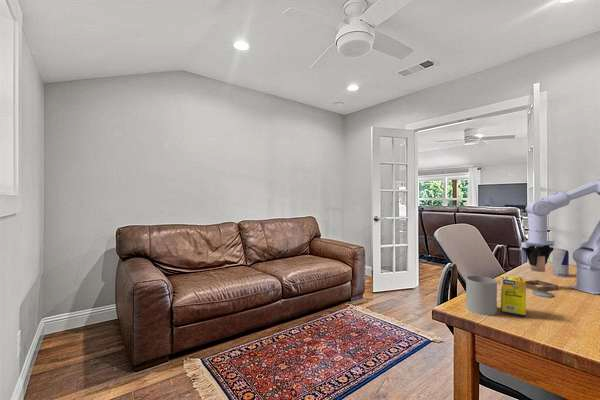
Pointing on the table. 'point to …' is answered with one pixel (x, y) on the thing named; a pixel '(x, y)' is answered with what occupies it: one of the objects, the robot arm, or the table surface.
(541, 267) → the clay pot
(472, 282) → the cup
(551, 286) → the frame
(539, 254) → the robot arm
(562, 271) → the energy drink
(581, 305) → the table surface
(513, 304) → the supplement box
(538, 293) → the glossy gray dome
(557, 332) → the table surface
